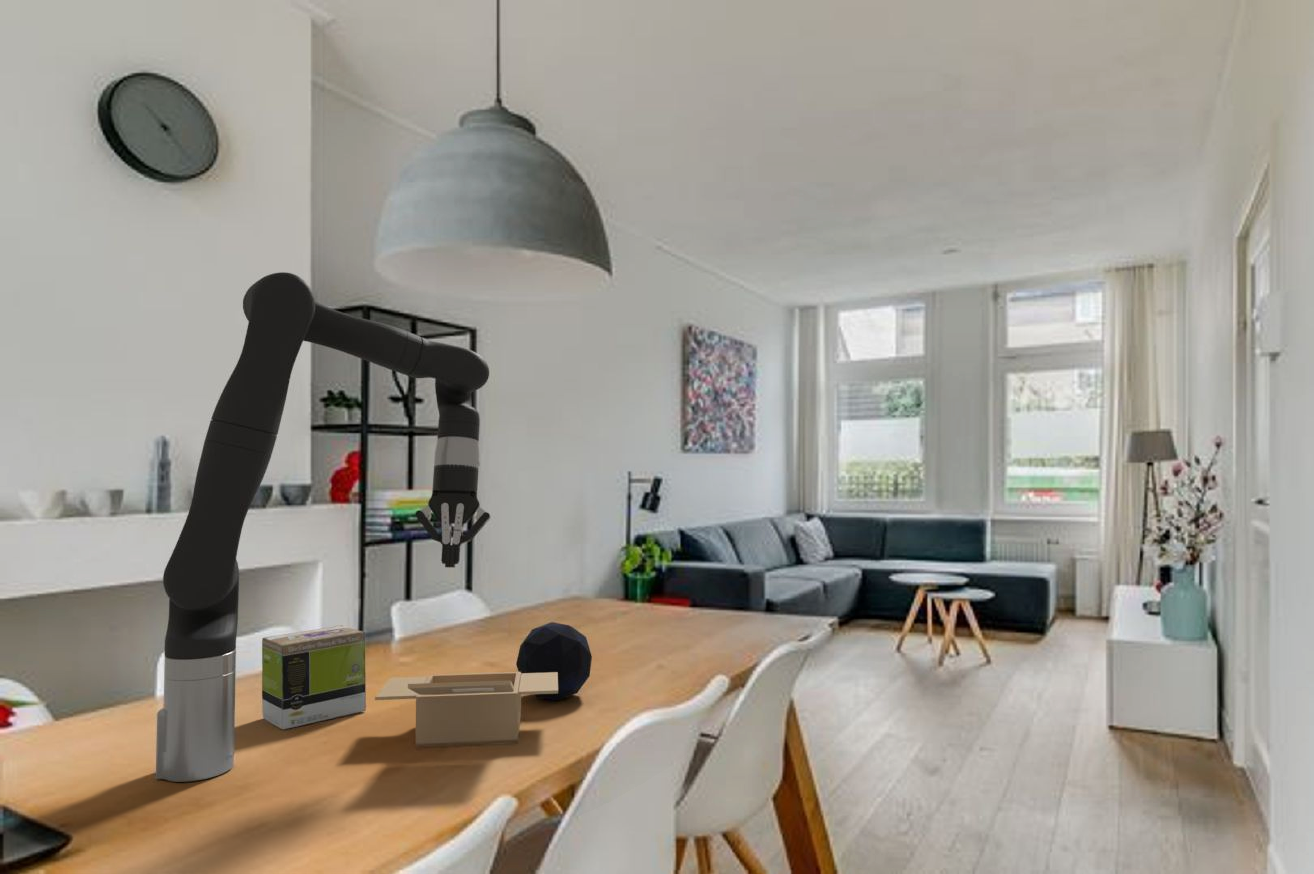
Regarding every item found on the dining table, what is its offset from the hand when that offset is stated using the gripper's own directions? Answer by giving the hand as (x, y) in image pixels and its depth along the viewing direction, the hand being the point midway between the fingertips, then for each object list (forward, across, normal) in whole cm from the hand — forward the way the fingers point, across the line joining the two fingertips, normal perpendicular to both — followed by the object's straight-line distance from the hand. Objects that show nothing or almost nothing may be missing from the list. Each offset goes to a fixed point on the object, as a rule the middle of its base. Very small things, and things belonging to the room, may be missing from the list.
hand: (450, 567), depth 137 cm
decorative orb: (+24, +19, +23) cm, 38 cm away
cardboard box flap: (+20, +4, -3) cm, 21 cm away
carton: (+27, +5, +5) cm, 28 cm away
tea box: (+26, -24, +18) cm, 40 cm away
